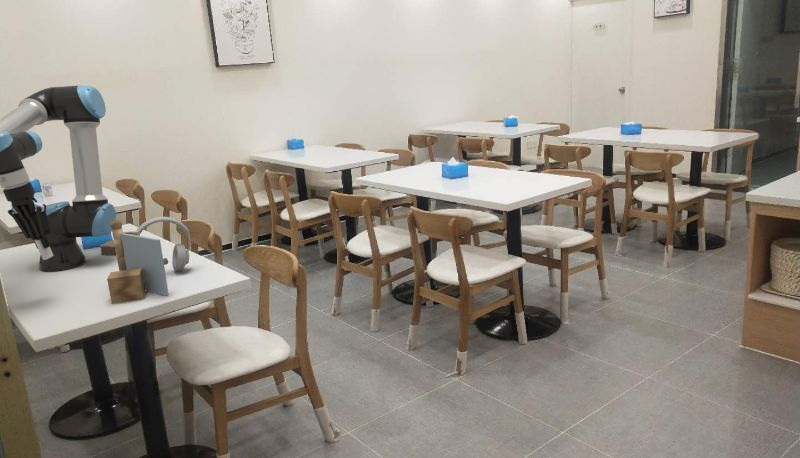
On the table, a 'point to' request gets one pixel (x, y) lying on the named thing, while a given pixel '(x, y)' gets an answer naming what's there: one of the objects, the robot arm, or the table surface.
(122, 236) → the door
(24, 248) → the table surface
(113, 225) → the brown long wooden part
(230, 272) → the table surface
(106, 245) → the brick
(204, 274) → the table surface
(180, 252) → the headphones
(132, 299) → the walnut block
